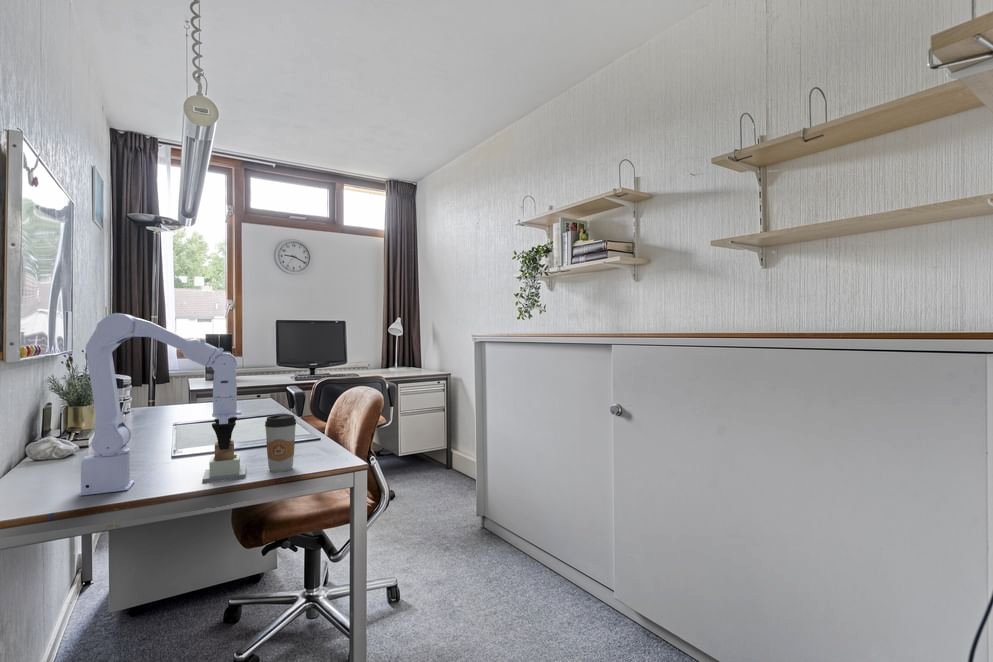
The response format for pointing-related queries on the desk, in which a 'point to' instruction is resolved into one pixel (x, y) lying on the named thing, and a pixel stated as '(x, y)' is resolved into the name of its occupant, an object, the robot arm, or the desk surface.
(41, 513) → the desk surface
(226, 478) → the socket base
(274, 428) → the coffee cup
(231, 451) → the walnut block
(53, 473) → the desk surface
